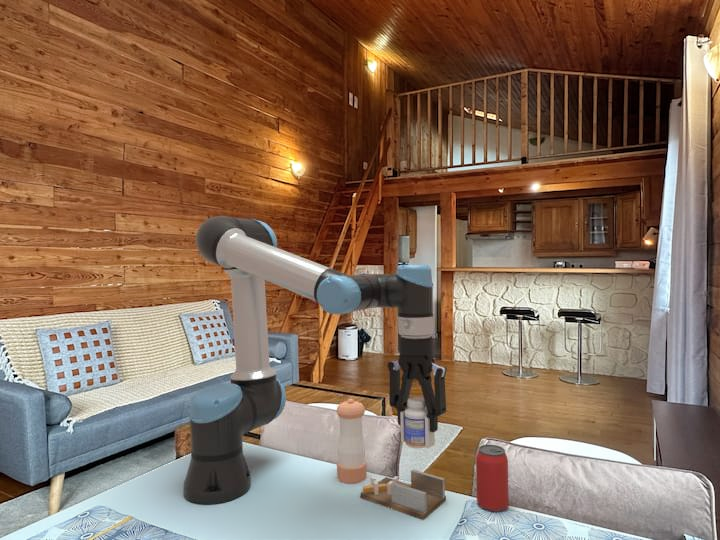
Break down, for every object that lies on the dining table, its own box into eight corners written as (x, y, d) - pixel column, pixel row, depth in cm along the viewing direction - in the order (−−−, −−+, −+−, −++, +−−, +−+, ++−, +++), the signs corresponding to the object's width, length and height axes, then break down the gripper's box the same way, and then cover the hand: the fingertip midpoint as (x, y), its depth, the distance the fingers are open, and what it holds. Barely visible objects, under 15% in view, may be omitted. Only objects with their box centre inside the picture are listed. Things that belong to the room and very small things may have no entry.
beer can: (510, 514, 99) (509, 456, 98) (477, 511, 100) (476, 454, 100) (507, 498, 105) (506, 444, 105) (476, 496, 106) (475, 442, 106)
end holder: (391, 502, 102) (391, 484, 102) (413, 486, 109) (413, 469, 109) (424, 514, 97) (424, 494, 97) (444, 496, 104) (444, 478, 104)
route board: (360, 497, 107) (360, 493, 106) (385, 481, 114) (385, 477, 114) (423, 520, 97) (423, 515, 97) (446, 500, 105) (446, 495, 105)
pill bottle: (415, 437, 107) (414, 394, 107) (435, 444, 103) (434, 399, 103) (399, 444, 103) (398, 399, 103) (419, 451, 99) (418, 404, 99)
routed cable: (360, 491, 107) (360, 481, 107) (378, 480, 113) (377, 470, 113) (388, 501, 103) (388, 490, 103) (405, 489, 108) (404, 478, 108)
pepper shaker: (341, 469, 121) (339, 394, 121) (369, 471, 120) (367, 395, 120) (333, 482, 114) (332, 402, 114) (363, 484, 113) (362, 404, 113)
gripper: (371, 334, 105) (372, 439, 106) (446, 341, 94) (448, 458, 94) (390, 330, 111) (391, 429, 112) (462, 336, 100) (464, 446, 100)
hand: (417, 442), depth 103 cm, fingers closed on pill bottle, 5 cm apart
